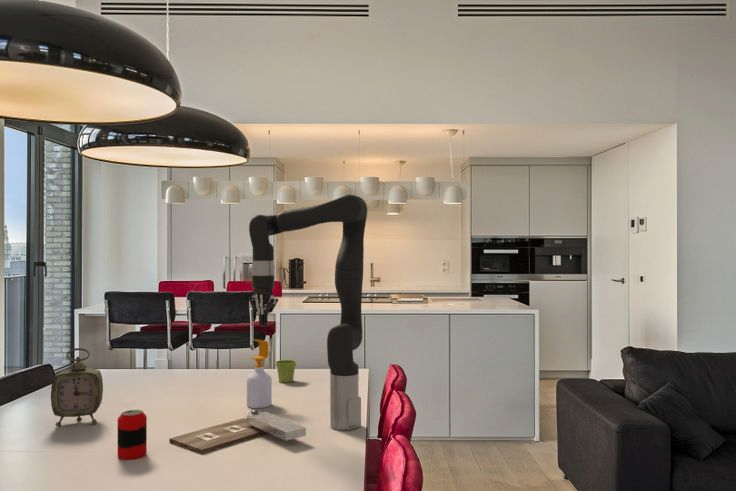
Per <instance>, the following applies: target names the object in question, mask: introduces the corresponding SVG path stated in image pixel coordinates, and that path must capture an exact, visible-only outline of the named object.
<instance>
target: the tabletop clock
mask: <svg viewBox="0 0 736 491" xmlns="http://www.w3.org/2000/svg"><path fill="white" fill-rule="evenodd" d="M74 351H84V352H85V353H87V356H85V357H84V358H83V357H82V358H80V356H76V357H75V358H71V357H70V356H69V354H70V353H71V352H74ZM89 357H90V352H89V350H87V349H85V348H82V347H77V348H72V349H70V350H69V351H67V353H66V358H67V360H69V361H72V362H73V363H72V364H71V365H70V366H69V368H68V369H64V370H62V371H59V373H57V374H56V375H55V376H54V377H53V380H52V382H51V391H50V402H51V403H50V404H51V409H52V410H51V411H52V412H53V414H54V416H57V417H60V418H59V420H58V421H57V422H55V427H56V428H59V427H61V426H62V423H61V422H62V421H63V419H64V418H76V417H77V418H76V422H77V423H81V422H82V417H85V416H89V417H90V418H91V425H96V424H97V422H98V421H97V419H96V418H94V413H96V412H97V411H98V409H100V407H101V405H102V400H103V394H104V382H103V375H102V372H101V370H100V369H98V368H94V367H93V368H91V367H87V365H86V363H85V362H83V361H85V360H87V359H89Z"/></svg>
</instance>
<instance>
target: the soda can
mask: <svg viewBox="0 0 736 491" xmlns="http://www.w3.org/2000/svg"><path fill="white" fill-rule="evenodd" d="M147 417H148V416H147V414H146V413H145V412H144V411H143V410H140V409H130V410H125V411H123V412H122V413H121V414H119V416H118V418H117V458H118V459H120V460H122V461H132V460H138V459H141V458H143V457H145V456H146V455H147V452H148V451H147V450H148V449H147V448H148V447H147V444H148V443H147V440H148V439H147V438H148V437H147V433H148V431H147V427H148V426H147V425H148V424H147V422H148V421H147V419H148V418H147Z"/></svg>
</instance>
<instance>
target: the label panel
mask: <svg viewBox="0 0 736 491" xmlns="http://www.w3.org/2000/svg"><path fill="white" fill-rule="evenodd" d="M267 434H269V433H268V432H265V431H263V430H261V429H259V428H256V427H254V426H252V425H250V424H247V417H242V418H239V419H235V420H231V421H227V422H224V423H221V424H217V425H213V426H210V427H206V428H203V429H199V430H195V431H191V432H188V433H184V434H181V435H178V436H177V435H176V436H174V437H173V436H172V437H171V438H169V440H168V441H169V444H173V445H176V446H178V447H181V448H184V449H186V450H190V451H192V452H195V453H198V454H200V455H203V454H205V453H209V452H213V451H215V450H216V451H217V450H219V449H221V448H224V447H228V446H231V445H235V444H237V443H240V442H244V441H247V440H250V439H254V438H257V437H259V436H263V435H267Z"/></svg>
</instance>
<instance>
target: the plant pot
mask: <svg viewBox="0 0 736 491" xmlns="http://www.w3.org/2000/svg"><path fill="white" fill-rule="evenodd" d="M297 363H298V362H297V360H294V359H281V360H276V361H275V366H276V370H277V376H278V381H279V383H285V384H287V383H291V382H294V376H295V368H296V364H297Z"/></svg>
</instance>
